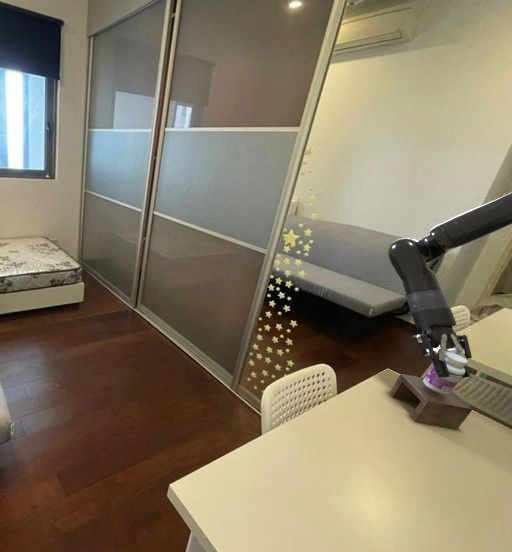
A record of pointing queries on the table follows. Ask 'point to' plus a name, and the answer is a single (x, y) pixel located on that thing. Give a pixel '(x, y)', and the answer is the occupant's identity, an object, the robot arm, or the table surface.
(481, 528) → the table surface
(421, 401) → the shelf
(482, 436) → the table surface
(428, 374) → the pill bottle
